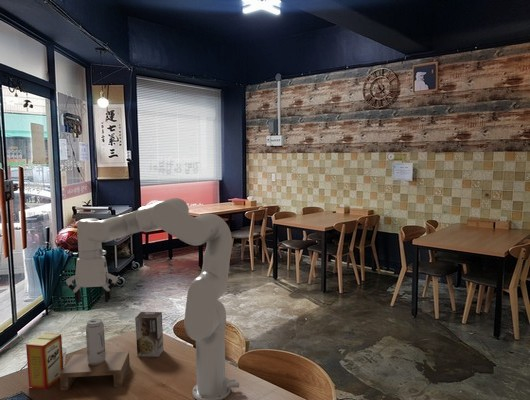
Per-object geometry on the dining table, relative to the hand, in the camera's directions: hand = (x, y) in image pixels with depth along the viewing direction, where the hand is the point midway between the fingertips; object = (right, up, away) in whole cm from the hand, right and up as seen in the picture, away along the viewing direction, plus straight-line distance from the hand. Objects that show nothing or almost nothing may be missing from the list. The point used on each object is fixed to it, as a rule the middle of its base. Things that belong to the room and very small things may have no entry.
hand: (93, 301), depth 152 cm
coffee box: (+14, -26, +22) cm, 37 cm away
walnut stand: (0, -28, +3) cm, 28 cm away
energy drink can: (0, -22, +2) cm, 22 cm away
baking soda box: (-17, -29, +1) cm, 33 cm away
